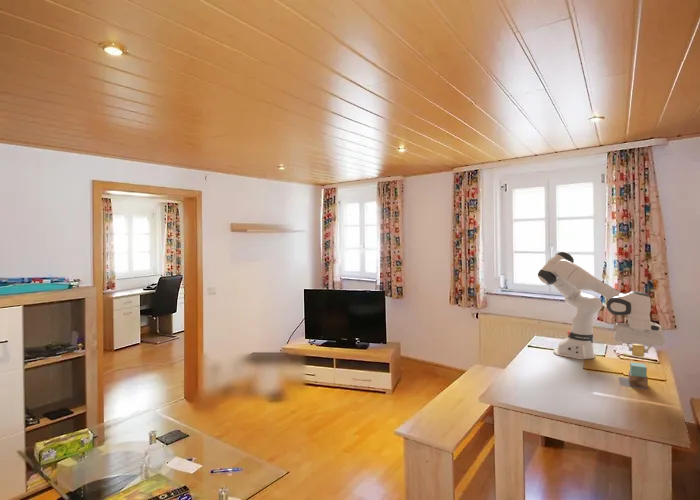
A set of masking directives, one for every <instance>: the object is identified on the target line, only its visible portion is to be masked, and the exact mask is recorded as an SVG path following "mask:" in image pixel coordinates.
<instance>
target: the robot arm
mask: <svg viewBox="0 0 700 500" xmlns="http://www.w3.org/2000/svg"><path fill="white" fill-rule="evenodd" d="M574 262H575V261H574V257H573V256H572V254H570V253H568V252H567V251H563V250H560V251H558V252H557V253H555V255H554V256H552V257H551V258H549V260H548V261H546V263H545V264H544V265H543V266H542V268H541V269H539V271H538V273H537V277H538V278H539V280H540V281H541V282H542V283H543V284H546V285H548V286H549V285H550V286H551V285H552V286H554V287H555V288H556V290H557V291H558V292H559V293H560V294H561V295H562V297H564V302H565V304H566V305H568V306H569V307H570V308H571V309H575V310H577V312H576V315H575V316H574V317H573V318H572V319H571V330H567V337H566V338H564V339H562V340H560V341H559V343H558V344H557V347H556V348H554V349H553V353H554V354H555V355H557V356H561V357H567V358H571V359H578V360H590V359H591V360H592V359H595V358H596V356H595V352H594V345H593V343H594V333H593V328H594V327H593V326H594V325H593V324H594V319H595V316H596V315H597V313H599V312H600V310H601V309H602V307H603V304H602V300H600V298H598V296H595V295H594V294H593V295H592V294H589V293H586V292H583V291H590V292H595V293H597V294H599V295H601V296H603V297H604V298H605V299H607V301H606V306H605V307H606V309H607V311H608V312H609V313H610V314H612V315H614V316H628V318H627V321H628V322H616V323H614V324H613V329H614V335H613V337H614V340H615V341H616V342H622V343H623V342H625V344H626V346H627V347H628V349H627V350H628V351H629V352H632V346H630V343H632V344H641V345H647V347H645V352H644V354H649V350H650V349H651V348H652V346H660V347H662V346H664V345H665V335H664V333H663V332H662V331H663V330H662V329H663V327H662V326H661V325H660V324H658V323H656V322H653V321H651V317H650V314H651V311H652V304H651V297H650V295H649V294H648V293H645V292H644V291H639V290H638V291H636V290H631V291H630V292H628V293H626V292H622V291H619V290H618V289H615V288H614V287H613V286H611V285H609V284H608V283H607V284H606V283H605V282H603V281H602V280H600V279H599V278H597V277H596V276H594V275H593V274H591V273H590V272H588V271H586V269H584V268H582V267H581V266H580V265H578V264H576V263H574Z"/></svg>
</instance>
